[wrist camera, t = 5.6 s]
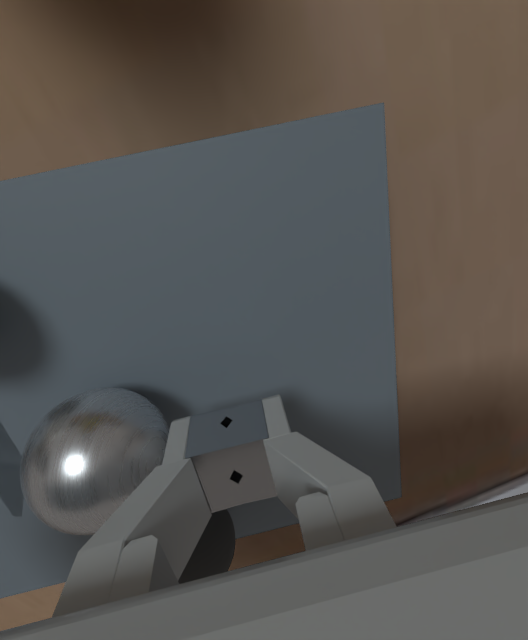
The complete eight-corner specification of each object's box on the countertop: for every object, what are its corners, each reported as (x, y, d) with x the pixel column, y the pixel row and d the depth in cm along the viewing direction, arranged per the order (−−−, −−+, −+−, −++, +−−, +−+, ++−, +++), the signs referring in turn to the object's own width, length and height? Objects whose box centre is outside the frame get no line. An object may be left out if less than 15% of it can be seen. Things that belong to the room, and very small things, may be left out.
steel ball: (69, 469, 6) (-50, 453, 7) (139, 584, 7) (29, 554, 9) (173, 361, 9) (76, 363, 10) (208, 457, 10) (120, 448, 12)
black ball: (223, 462, 12) (223, 547, 9) (241, 519, 13) (246, 609, 10) (139, 482, 12) (114, 574, 9) (165, 538, 13) (150, 634, 10)
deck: (336, 127, 12) (383, 102, 8) (366, 436, 17) (401, 497, 14) (-386, 276, 11) (-662, 316, 7) (-112, 552, 16) (-200, 648, 13)
